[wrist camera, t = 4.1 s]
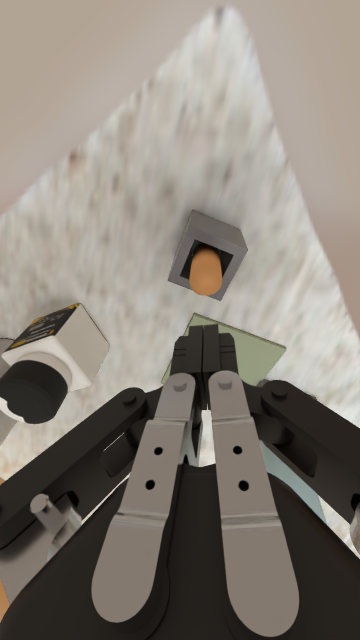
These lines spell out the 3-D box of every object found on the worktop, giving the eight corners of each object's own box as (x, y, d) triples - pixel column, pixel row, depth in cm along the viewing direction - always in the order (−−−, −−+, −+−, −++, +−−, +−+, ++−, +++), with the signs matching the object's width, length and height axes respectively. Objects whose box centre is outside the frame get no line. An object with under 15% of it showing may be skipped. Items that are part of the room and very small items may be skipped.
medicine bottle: (80, 301, 33) (24, 371, 23) (111, 346, 36) (74, 425, 26) (34, 319, 35) (-37, 390, 25) (67, 360, 38) (17, 438, 28)
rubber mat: (161, 380, 39) (161, 383, 38) (194, 313, 32) (194, 315, 32) (239, 406, 40) (239, 409, 40) (285, 347, 34) (286, 349, 33)
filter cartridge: (247, 412, 41) (266, 544, 27) (264, 390, 38) (295, 525, 25) (277, 422, 41) (310, 557, 28) (297, 401, 39) (344, 539, 25)
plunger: (188, 262, 26) (184, 288, 21) (198, 238, 24) (196, 260, 20) (212, 271, 26) (213, 300, 21) (224, 248, 25) (227, 272, 20)
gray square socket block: (174, 256, 29) (167, 280, 24) (192, 209, 26) (189, 225, 21) (218, 274, 30) (220, 301, 25) (240, 229, 27) (247, 249, 22)
